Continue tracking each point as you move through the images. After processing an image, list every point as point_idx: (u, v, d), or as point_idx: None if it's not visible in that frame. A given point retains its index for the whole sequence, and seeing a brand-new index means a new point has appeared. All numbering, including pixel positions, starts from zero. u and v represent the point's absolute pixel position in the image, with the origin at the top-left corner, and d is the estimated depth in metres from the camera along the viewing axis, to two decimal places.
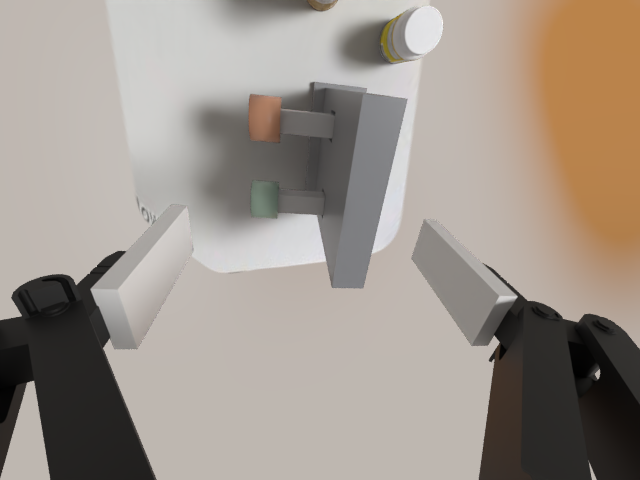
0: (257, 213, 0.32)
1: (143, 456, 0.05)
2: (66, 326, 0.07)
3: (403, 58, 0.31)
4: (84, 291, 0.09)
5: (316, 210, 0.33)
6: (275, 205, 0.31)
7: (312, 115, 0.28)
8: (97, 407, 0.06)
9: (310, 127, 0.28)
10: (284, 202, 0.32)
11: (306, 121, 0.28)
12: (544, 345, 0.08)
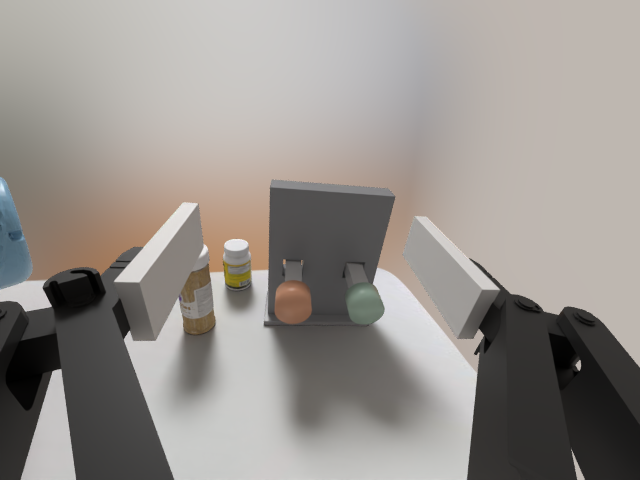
0: (376, 295, 0.33)
1: (160, 446, 0.05)
2: (91, 317, 0.07)
3: (249, 259, 0.47)
4: (105, 285, 0.09)
5: (359, 267, 0.40)
6: (363, 283, 0.35)
7: (286, 271, 0.37)
8: (118, 397, 0.06)
9: (295, 271, 0.37)
10: None
11: (291, 273, 0.37)
12: (526, 337, 0.09)
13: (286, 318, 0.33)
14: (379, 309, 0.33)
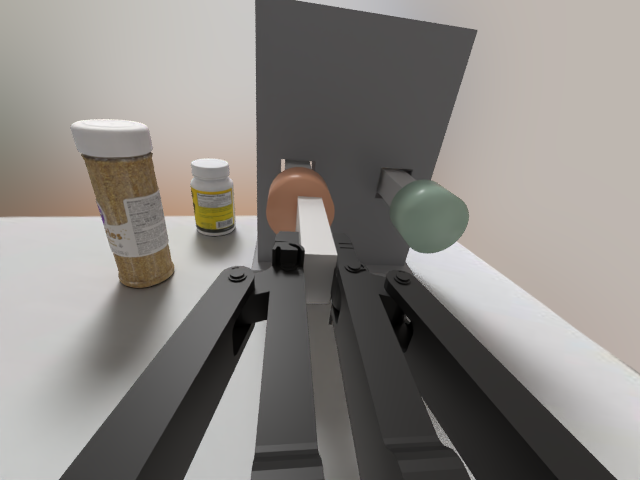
0: (453, 194, 0.18)
1: (313, 407, 0.06)
2: (291, 281, 0.10)
3: (230, 186, 0.32)
4: None
5: (405, 175, 0.24)
6: (424, 180, 0.19)
7: (287, 168, 0.22)
8: (295, 349, 0.07)
9: None
10: None
11: None
12: (363, 300, 0.09)
13: (287, 230, 0.18)
14: (459, 220, 0.18)
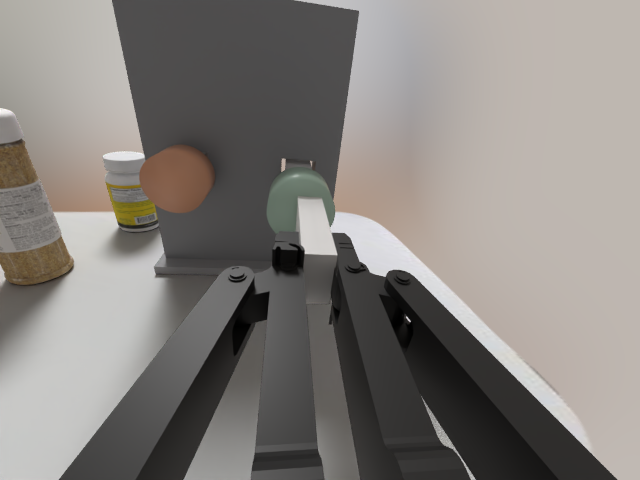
0: (318, 181, 0.17)
1: (313, 407, 0.06)
2: (291, 281, 0.10)
3: None
4: None
5: (304, 165, 0.24)
6: (298, 167, 0.19)
7: None
8: (294, 350, 0.07)
9: None
10: None
11: None
12: (363, 300, 0.09)
13: (164, 201, 0.20)
14: (325, 208, 0.18)
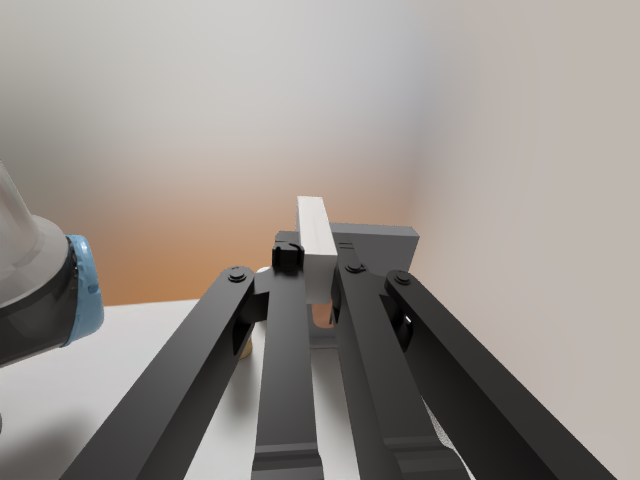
0: None
1: (313, 407, 0.06)
2: (291, 281, 0.10)
3: None
4: None
5: None
6: None
7: None
8: (294, 349, 0.07)
9: None
10: None
11: None
12: (363, 300, 0.09)
13: (321, 323, 0.40)
14: None
